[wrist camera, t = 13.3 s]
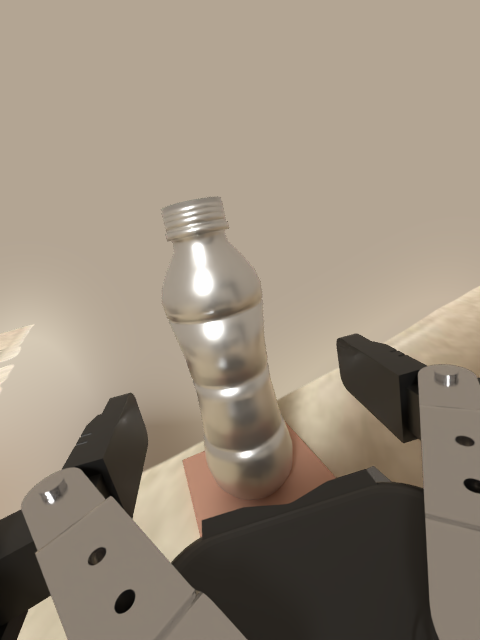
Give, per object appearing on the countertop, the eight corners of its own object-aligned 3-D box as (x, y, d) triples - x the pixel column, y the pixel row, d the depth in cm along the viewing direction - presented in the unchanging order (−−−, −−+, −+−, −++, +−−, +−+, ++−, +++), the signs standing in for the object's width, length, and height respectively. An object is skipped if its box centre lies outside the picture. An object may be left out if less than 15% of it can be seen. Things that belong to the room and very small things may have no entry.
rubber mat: (283, 423, 29) (282, 418, 29) (352, 501, 20) (351, 494, 20) (184, 465, 27) (182, 460, 27) (210, 577, 17) (208, 570, 17)
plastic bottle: (231, 533, 19) (138, 204, 13) (204, 465, 25) (132, 220, 20) (315, 486, 21) (266, 183, 15) (271, 434, 27) (223, 203, 22)
